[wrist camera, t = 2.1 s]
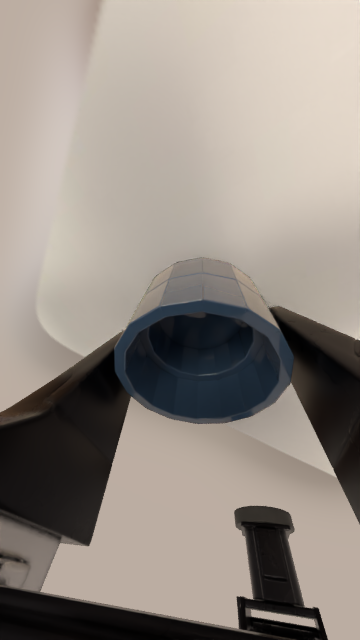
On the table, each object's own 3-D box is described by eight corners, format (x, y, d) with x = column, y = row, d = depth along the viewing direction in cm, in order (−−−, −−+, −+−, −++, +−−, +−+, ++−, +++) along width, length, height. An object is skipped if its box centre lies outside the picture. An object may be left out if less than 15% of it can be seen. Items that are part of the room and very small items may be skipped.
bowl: (257, 347, 11) (285, 422, 8) (162, 356, 12) (145, 425, 9) (257, 243, 8) (305, 283, 4) (129, 268, 9) (82, 317, 6)
